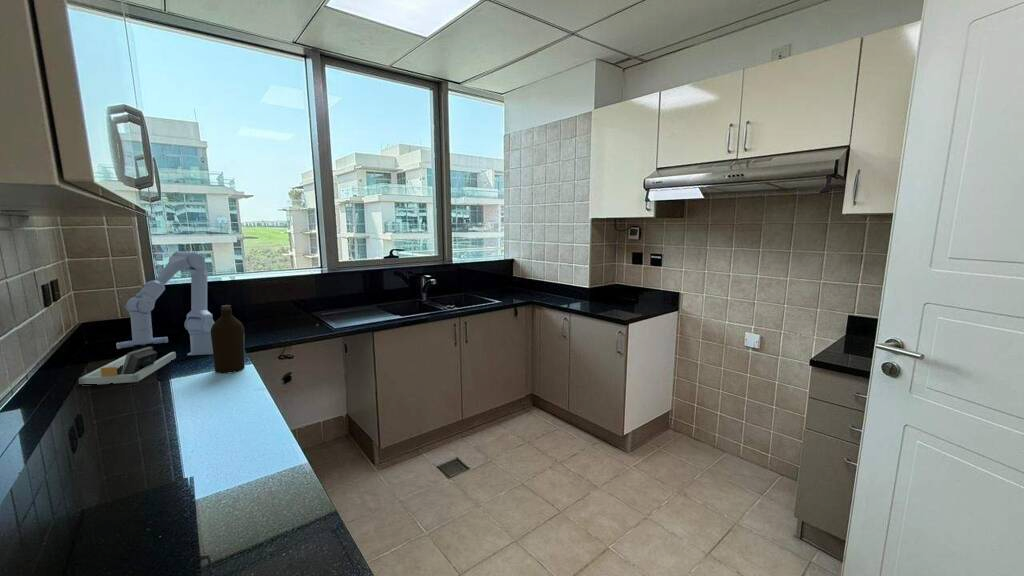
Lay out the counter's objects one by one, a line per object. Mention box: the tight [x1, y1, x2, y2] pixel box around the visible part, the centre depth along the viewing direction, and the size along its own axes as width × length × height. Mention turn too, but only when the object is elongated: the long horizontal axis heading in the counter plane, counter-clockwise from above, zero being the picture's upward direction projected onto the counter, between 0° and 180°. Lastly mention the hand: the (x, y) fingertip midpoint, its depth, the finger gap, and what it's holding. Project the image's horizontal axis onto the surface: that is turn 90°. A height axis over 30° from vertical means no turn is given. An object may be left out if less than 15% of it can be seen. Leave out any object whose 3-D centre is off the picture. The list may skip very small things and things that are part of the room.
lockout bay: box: [78, 351, 177, 385], centre depth 156 cm, size 16×29×6 cm, turn 18°
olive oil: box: [211, 304, 245, 374], centre depth 158 cm, size 11×11×25 cm
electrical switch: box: [120, 347, 158, 375], centre depth 152 cm, size 9×5×9 cm, turn 177°
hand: (144, 363), depth 158 cm, fingers closed, pressing on electrical switch
